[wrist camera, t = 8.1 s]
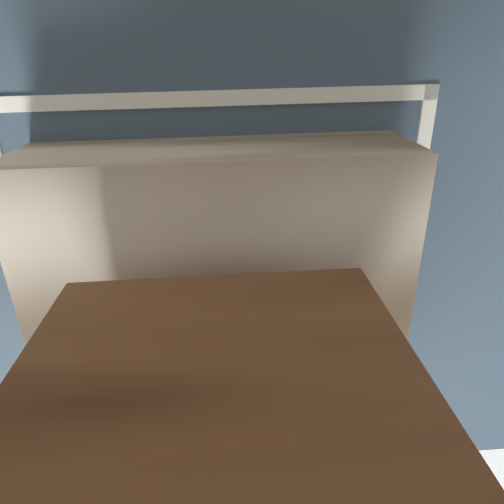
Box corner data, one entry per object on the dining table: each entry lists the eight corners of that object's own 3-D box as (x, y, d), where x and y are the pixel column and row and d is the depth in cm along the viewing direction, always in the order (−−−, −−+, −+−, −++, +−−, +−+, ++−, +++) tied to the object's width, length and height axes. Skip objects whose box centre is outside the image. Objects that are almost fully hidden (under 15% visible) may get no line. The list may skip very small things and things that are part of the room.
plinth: (359, 396, 16) (386, 465, 14) (95, 414, 16) (69, 488, 13) (390, 130, 12) (438, 153, 9) (29, 142, 12) (-28, 171, 9)
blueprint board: (526, 434, 19) (537, 448, 18) (16, 471, 18) (8, 487, 17) (687, -16, 12) (713, -20, 11) (-164, -2, 10) (-188, -5, 10)
